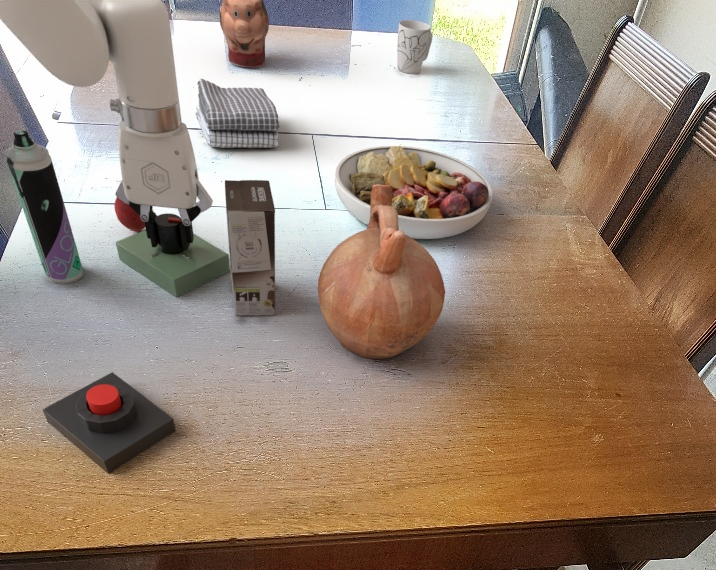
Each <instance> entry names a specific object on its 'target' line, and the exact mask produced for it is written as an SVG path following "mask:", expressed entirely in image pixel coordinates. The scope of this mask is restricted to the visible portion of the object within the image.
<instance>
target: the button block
mask: <svg viewBox="0 0 716 570" xmlns="http://www.w3.org/2000/svg"><path fill="white" fill-rule="evenodd" d="M102 384H107V385H111V386H114V387H115V388H116V389H117V390H118V393H119V396H120V400H121V407H120V409H119V410H118V411H116V412H115V413H113V414H109V415H103V416H101V415H96V414H94V413H93V412H92V411H91V410H90V407H89V404H88V401H87V398H86V394H87V392H88V391H89V390H90V389H91V388H92V387H94V386H97V385H102ZM42 413H43V415H44V417H45V419H46V421H47V423H48V424H49V425H50V426H51V427H53V428H54V429H55V430H56V431H57V432H59V434H61V435H62V436H63V437H64V438H65V439H67V440H68V441H69V442H71V444H73V445H74V446H75V447H76V448H77V449H79V451H81V452H82V453H83V454H84V455H85V456H86V457H88V458H89V459H90V460H91V461H92V462H94V463H95V465H97V466H98V467H99V468H101V469H102V470H103V471H104V472H105V473H107V474H108V475H110V473H112V472H114V471H115V470H117V469H119V468H120V467H122V466H123V465H125V464H126V463H128V462H130V461H132V460H133V459H135V458H136V457H137V456H139V455H141V454H143V453H144V452H145V451H147V450H149V449H150V448H152V447H154V446H155V445H156V444H158V443H160V442H161V441H162V440H164V439H165V438H167V437H170V435H172V434H174V433H175V432H177V430H176V425H175V424H176V423H175V419H174V418H173V417H172V416H171V415H169V413H167V412H165V410H163V409H161V408H160V407H159V406H158V405H156V404H155V403H154V402H152V401H151V400H150V399H149V398H147V397H146V396H145V395H143V394H142V393H141V392H139V391H138V390H137V389H136V388H134V387H132V385H131V384H129V383H127V382H126V381H125V380H124V379H122V378H121V377H119V376H118V375H117V374H115V373H114V371H112V372H110V373H108V374H106V375H104V376H102V377H100V378H99V379H97V380H94V381H93V382H90V383H89V384H87V385H85V386H84V387H82V388H80V389H78V390H76V391H74V392H72V393H70V394H68V395H67V396H65V397H63V398H61V399H59V400H57V401H55V402H53V403H52V404H50V405H48V406H46V407H44V408H42Z"/></svg>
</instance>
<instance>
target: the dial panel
mask: <svg viewBox="0 0 716 570" xmlns="http://www.w3.org/2000/svg"><path fill="white" fill-rule="evenodd" d="M193 235H194V240H193V243H190V245H189V248H188V251H186V250H184V251H183V252H181V253H179V254H166V253H163V252H161V251H160V249H159V244H158V245H157V247H152V245H151V239H148V238H147V233H146V229H143V230H142V231H141V232H136V233H134V234H132V235H130V236H127V237H124V238H122V239H120V240H117V241H115V246H116V250H117V255H118V259H119V261H121V262H123V263H124V264H125V265H127V266H129V267H130V268H131V269H133V270H134V271H136V272H137V273H139V274H141V276H144V277H145V278H146V279H148V280H150V281H151V282H152V283H154V284H156V285H157V286H159V287H160V288H162V289H163V290H165V292H168V293H170V294H171V295H172V296H173V297H175V298H179V297H181V296H183V295H185V294H187V293H189V292H191V291H193V290H195V289H197V288H200V287H201V286H203V285H205V284H208V283H209V282H212V281H213V280H215V279H217V278H219V277H221V276H224V275H225V274H227V273H229V272H230V273H231V266H230V253H228V252H226V251H224V250H222V249H221V248H219V247H217V246H216V245H214V244H212V243H211V242H209V241H207V240H205V239H204V238H202V237H200V236H199V235H197V234H196V233H194V232H193Z"/></svg>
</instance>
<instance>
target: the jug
mask: <svg viewBox="0 0 716 570" xmlns="http://www.w3.org/2000/svg"><path fill="white" fill-rule="evenodd" d="M391 205H392V186H391V185H380V184H377V185H373V186H372V191H371V207H370V221H369V224H368V225H367V226H366V229H363V230H361V231H359V232H356V233H355V234H352V235H350V236H348V237H347V238H345V239H344V240H343V241H341V242H340V243H339V244H337V245H336V247H335V248H334V249H333V250H332V251H331V252H330V254H329V255H328V257H327V258H326V259H325V261H324V262H323V265H322V267H321V270H320V272H319V275H318V279H317V296H318V297H317V298H318V302H319V303H318V305H319V309H320V312H321V315H322V318H323V319H324V321H325V323H326V325H327V327H328V329H329V330H330V332H331V333H332V334H333V336H334V337H335V338H336V339H337V341H338V342H339V343H340V344H341V346H342V347H343V348H345V349H346V350H347V351H349V352H351V353H352V354H355V355H357V356H360V357H362V358H365V359H370V360H386V359H390V358H393V357H396V356H398V355H400V354H402V353H403V352H405V351H408V350H409V349H410V348H412V347H413V346H415V345H417V344H418V343H419V342H421V341H422V340H424V339H425V338H426V337H427V336H428V335H429V333H430V332H431V331H432V329H433V328H434V326H435V325H436V323H437V321H438V320H439V318H440V316H441V313H442V311H443V308H444V304H445V298H446V297H445V296H446V288H445V284H444V280H443V274H442V272H441V270H440V268H439V265H438V264H437V262H436V259H434V257H433V256H432V255H431V253H430V252H429V251H428V250H427V249H426V248H425V247H424V246H423V245H422V244H420V243H419V242H418V241H416V240H415V238H410V237H409V236H407V235H405V234H404V232H403V231H399V226H398V213H397V210H396V209H395V208H394V207H392V206H391Z"/></svg>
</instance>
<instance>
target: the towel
mask: <svg viewBox="0 0 716 570" xmlns="http://www.w3.org/2000/svg"><path fill="white" fill-rule="evenodd" d="M196 84H197V86H198V87H197V90H198V94H197V96H198V105H196V106H195V108H196V112H195V116H196V120H197V122H198V124H199V127H200V129H201V133H202V134H203V136H204V139H205V141H206V143H207V146H209V147H213V148H221V149H224V148H227V149H230V148H232V149H234V148H236V149H237V148H245V149H246V148H249V149H251V148H253V149H255V148H257V149H258V148H259V149H261V148H263V149H267V148H268V149H269V148H278V147H279V133H278V131H279V129H280V121H279V115H278V111H277V108H276V105H275V104H274V102H273V101H272V100H271V99H270V98H269V96H268V95H267V93H266V91H265V90H264V88H262V87H227V88H226V87H220V86H219V85H216V84H215V82H211V81H210V80H207V79H206V80H205V79H204V78H199V80H198V81H197V83H196Z"/></svg>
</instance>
